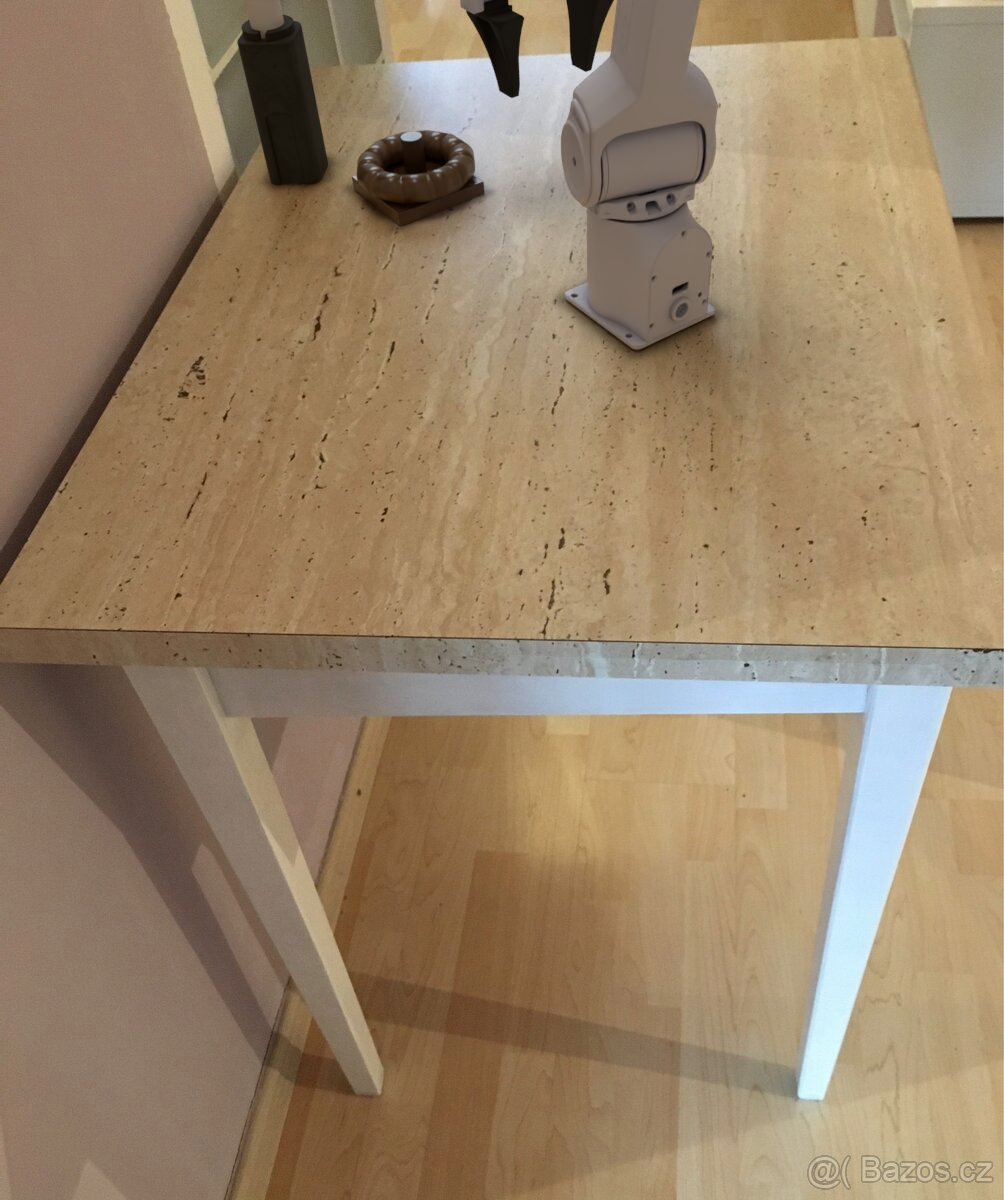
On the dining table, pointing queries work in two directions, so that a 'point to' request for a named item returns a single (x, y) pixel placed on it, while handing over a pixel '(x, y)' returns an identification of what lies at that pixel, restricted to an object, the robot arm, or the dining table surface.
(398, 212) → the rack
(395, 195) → the segmented ring
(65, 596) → the dining table surface
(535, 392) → the dining table surface
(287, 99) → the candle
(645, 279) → the robot arm
